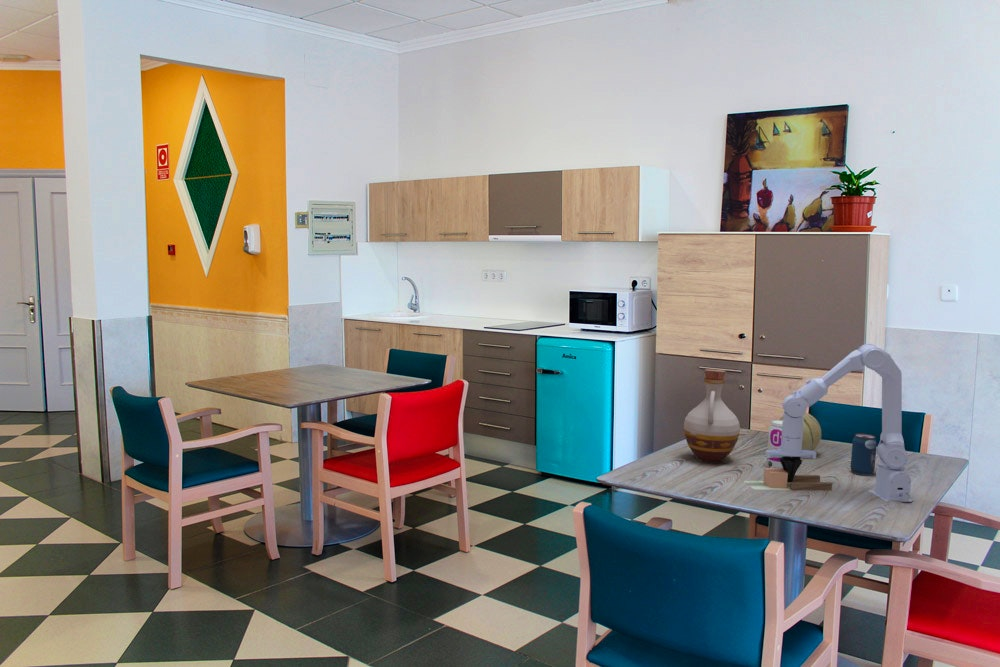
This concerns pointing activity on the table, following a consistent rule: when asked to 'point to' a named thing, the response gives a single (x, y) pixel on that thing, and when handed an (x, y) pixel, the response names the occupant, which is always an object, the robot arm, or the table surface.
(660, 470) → the table surface
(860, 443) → the soda can
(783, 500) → the table surface
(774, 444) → the supplement can
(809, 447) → the cantaloupe
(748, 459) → the table surface
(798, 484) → the chute
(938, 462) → the table surface
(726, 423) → the jug
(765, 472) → the block
